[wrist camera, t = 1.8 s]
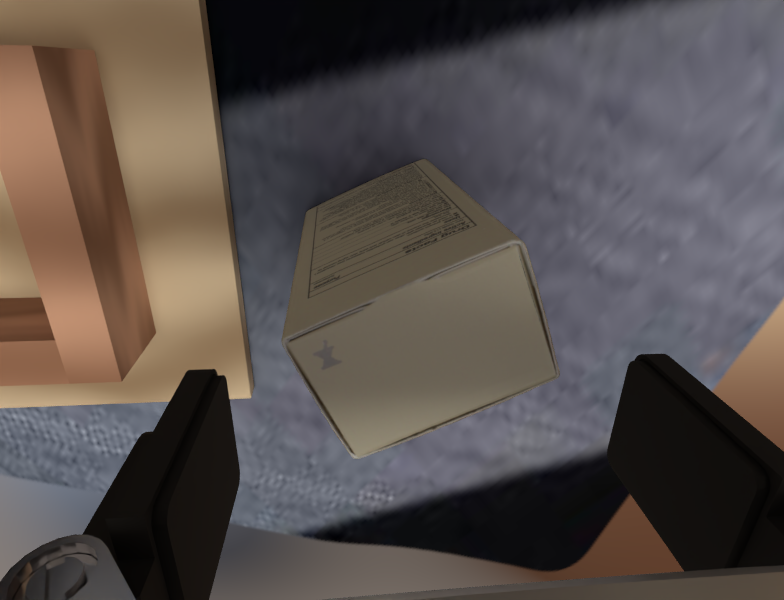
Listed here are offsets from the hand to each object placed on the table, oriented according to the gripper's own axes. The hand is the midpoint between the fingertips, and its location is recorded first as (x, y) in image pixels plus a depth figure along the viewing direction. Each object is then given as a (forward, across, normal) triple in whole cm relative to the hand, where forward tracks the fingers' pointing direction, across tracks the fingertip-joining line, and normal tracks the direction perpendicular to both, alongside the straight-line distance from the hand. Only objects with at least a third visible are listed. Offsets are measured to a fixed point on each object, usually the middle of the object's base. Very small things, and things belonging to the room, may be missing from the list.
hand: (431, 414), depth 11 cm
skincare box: (+14, 0, -1) cm, 14 cm away
